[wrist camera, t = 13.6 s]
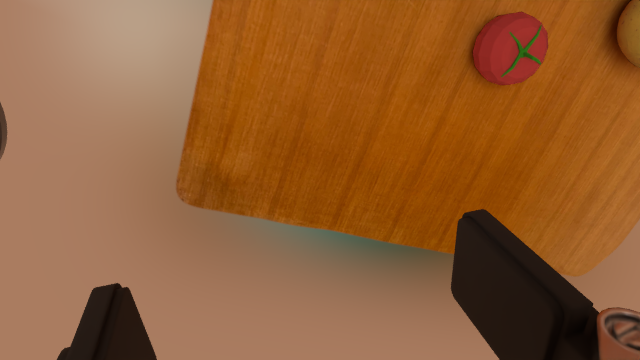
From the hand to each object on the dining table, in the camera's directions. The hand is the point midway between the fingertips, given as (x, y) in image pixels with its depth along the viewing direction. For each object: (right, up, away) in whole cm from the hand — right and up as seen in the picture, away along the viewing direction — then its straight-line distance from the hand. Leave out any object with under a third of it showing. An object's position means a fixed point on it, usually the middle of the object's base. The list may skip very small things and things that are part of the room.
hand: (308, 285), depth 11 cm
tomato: (+21, +19, +37) cm, 47 cm away
